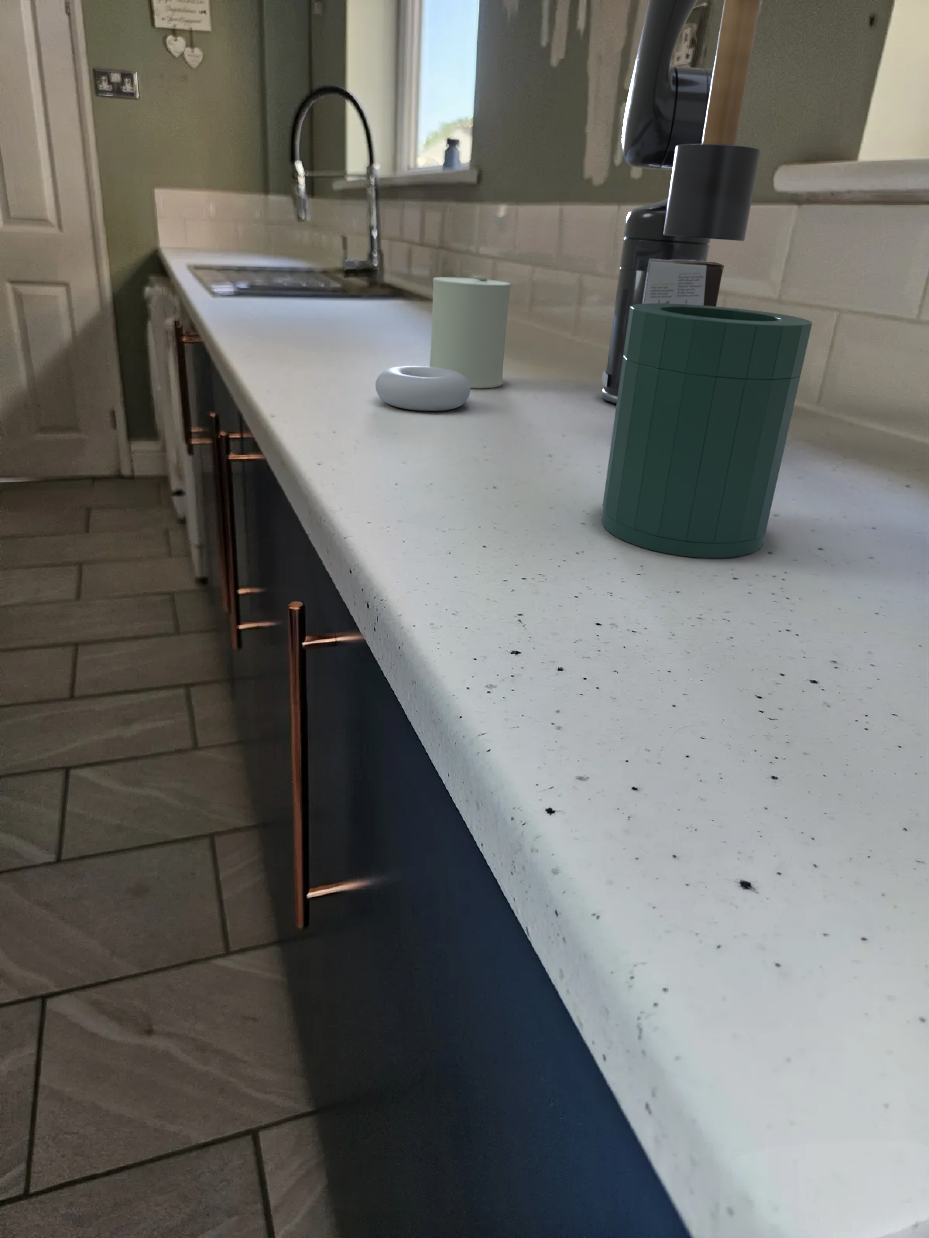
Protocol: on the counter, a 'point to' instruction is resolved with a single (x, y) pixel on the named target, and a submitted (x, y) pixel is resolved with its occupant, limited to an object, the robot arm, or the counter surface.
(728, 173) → the brush
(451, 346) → the can
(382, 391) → the donut
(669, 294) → the coffee box
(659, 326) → the green utensil holder
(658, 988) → the counter surface
